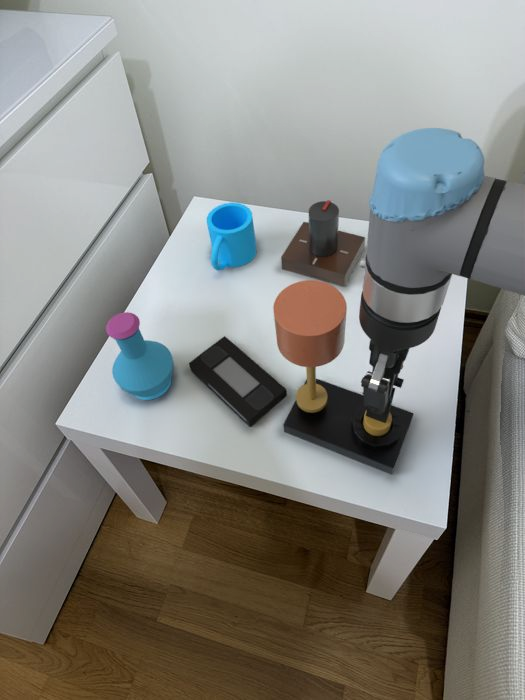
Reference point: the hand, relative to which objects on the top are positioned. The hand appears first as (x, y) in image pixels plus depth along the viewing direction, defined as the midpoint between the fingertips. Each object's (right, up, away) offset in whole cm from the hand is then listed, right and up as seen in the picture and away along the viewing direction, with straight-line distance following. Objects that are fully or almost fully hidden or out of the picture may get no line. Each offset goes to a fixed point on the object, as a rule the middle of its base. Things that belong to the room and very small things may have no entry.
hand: (377, 414), depth 68 cm
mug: (-21, +25, +29) cm, 44 cm away
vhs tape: (-19, +3, +12) cm, 23 cm away
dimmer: (-4, +27, +24) cm, 36 cm away
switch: (0, -2, +2) cm, 3 cm away
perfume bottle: (-33, +3, +14) cm, 36 cm away
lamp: (-8, +2, +5) cm, 10 cm away
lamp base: (-3, -2, +6) cm, 7 cm away
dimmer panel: (-4, +25, +26) cm, 36 cm away
